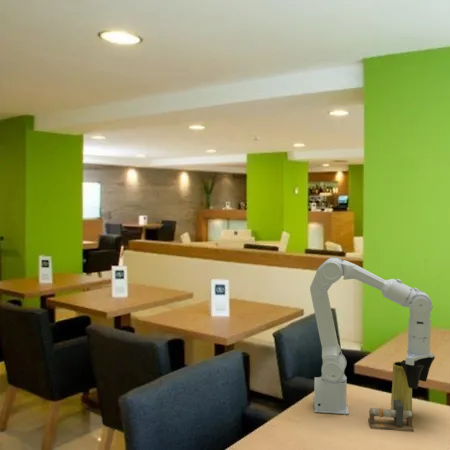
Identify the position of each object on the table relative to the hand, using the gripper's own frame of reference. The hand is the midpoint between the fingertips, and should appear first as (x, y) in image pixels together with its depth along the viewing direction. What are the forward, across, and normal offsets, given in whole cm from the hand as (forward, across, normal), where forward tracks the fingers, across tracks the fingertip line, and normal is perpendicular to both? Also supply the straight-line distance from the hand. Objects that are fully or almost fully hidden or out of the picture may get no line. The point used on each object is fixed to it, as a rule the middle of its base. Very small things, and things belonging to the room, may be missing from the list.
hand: (417, 384), depth 137 cm
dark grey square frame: (+9, -7, +3) cm, 12 cm away
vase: (+10, +2, +5) cm, 11 cm away
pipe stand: (+10, -8, +4) cm, 14 cm away
